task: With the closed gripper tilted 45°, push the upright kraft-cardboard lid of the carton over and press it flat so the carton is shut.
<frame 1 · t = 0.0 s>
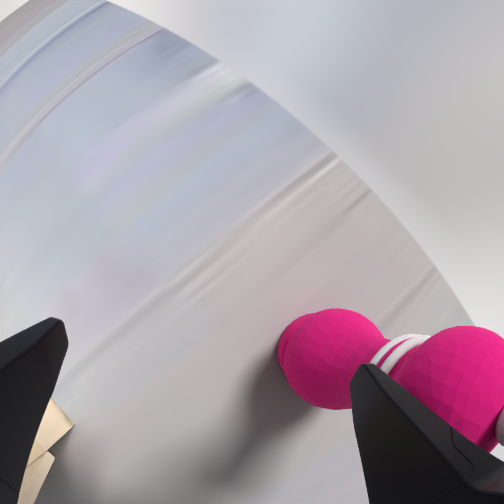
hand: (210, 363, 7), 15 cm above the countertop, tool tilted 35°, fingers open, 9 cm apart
pepper mill: (311, 349, 23), on the countertop, touching gripper
carton: (12, 413, 17), on the countertop
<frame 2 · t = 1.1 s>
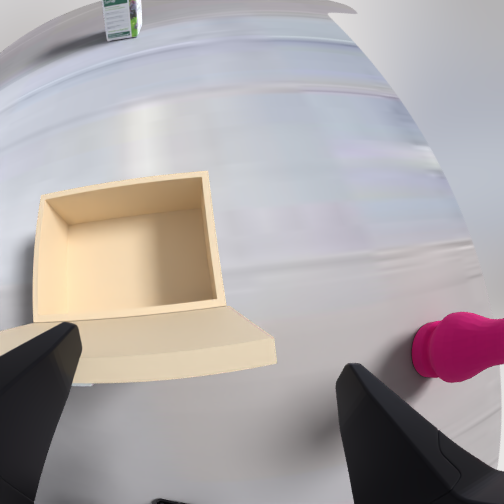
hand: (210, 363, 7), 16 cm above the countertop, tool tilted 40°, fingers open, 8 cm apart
pepper mill: (428, 350, 26), on the countertop
syrup box: (125, 33, 35), on the countertop
lid: (94, 341, 11), point 11 cm above the countertop, hinge at 102.8°, touching gripper
carton: (134, 266, 23), on the countertop
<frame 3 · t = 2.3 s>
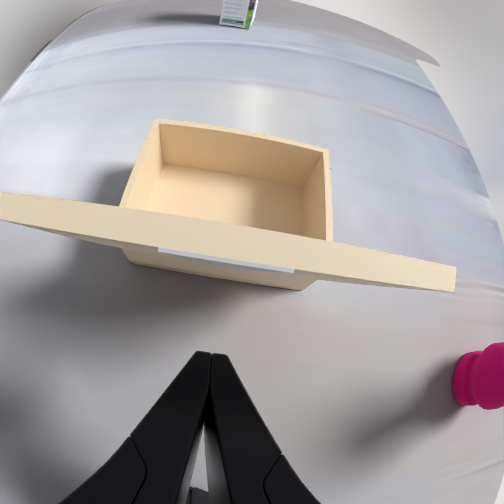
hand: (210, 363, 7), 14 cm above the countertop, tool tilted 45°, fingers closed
pepper mill: (466, 379, 23), on the countertop
syrup box: (236, 23, 40), on the countertop
lid: (223, 254, 12), point 11 cm above the countertop, hinge at 108.1°
carton: (225, 221, 24), on the countertop
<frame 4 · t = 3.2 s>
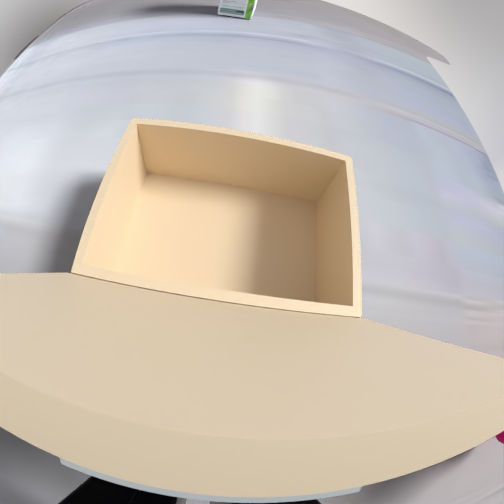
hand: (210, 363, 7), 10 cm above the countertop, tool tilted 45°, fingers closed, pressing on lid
syrup box: (236, 13, 35), on the countertop
lid: (213, 340, 7), point 11 cm above the countertop, hinge at 107.9°, touching gripper
carton: (221, 246, 19), on the countertop
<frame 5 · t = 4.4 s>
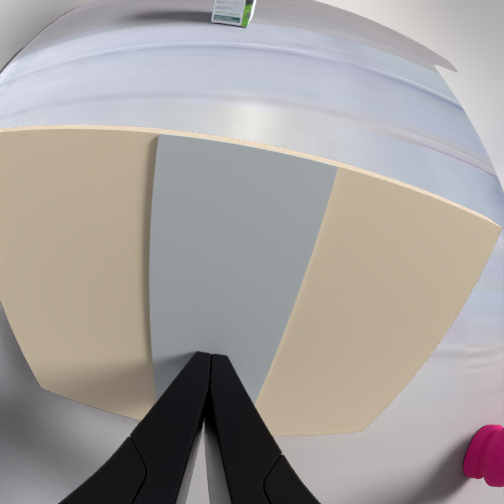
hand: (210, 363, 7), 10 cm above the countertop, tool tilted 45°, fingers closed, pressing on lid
pepper mill: (478, 450, 16), on the countertop
syrup box: (232, 20, 33), on the countertop
lid: (213, 342, 7), point 10 cm above the countertop, hinge at 49.7°, touching gripper
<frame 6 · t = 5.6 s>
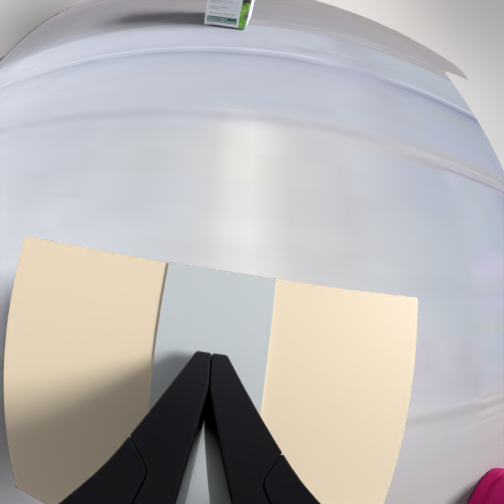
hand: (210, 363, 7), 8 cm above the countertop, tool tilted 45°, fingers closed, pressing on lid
pepper mill: (482, 493, 12), on the countertop
syrup box: (228, 22, 30), on the countertop
lid: (201, 434, 7), point 7 cm above the countertop, hinge at 5.1°, touching gripper
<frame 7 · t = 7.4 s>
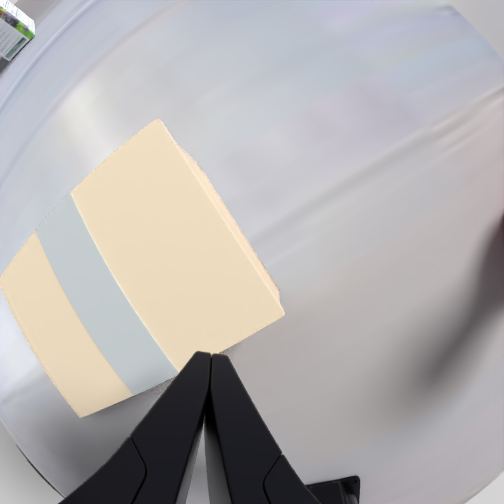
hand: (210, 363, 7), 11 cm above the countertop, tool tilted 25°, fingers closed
syrup box: (22, 41, 21), on the countertop
lid: (99, 296, 12), point 7 cm above the countertop, hinge at 4.3°
carton: (155, 281, 19), on the countertop
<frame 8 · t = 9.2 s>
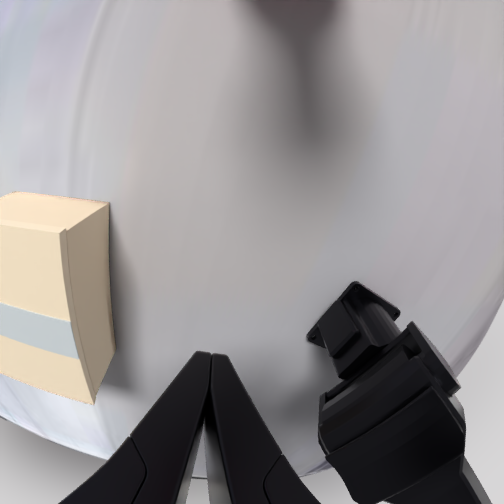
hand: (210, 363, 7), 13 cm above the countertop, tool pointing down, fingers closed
lid: (18, 321, 14), point 7 cm above the countertop, hinge at 4.3°
carton: (61, 275, 20), on the countertop
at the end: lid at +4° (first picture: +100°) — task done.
